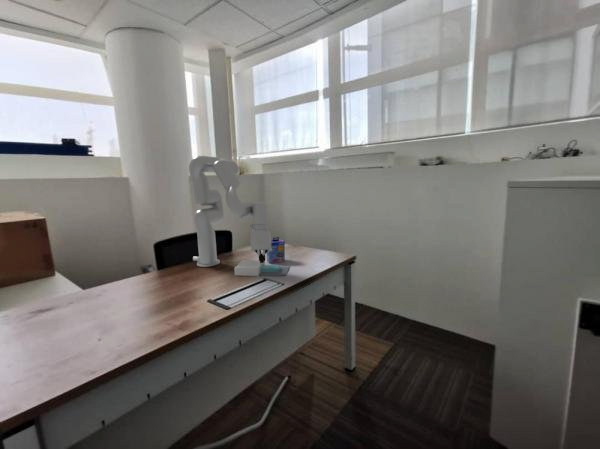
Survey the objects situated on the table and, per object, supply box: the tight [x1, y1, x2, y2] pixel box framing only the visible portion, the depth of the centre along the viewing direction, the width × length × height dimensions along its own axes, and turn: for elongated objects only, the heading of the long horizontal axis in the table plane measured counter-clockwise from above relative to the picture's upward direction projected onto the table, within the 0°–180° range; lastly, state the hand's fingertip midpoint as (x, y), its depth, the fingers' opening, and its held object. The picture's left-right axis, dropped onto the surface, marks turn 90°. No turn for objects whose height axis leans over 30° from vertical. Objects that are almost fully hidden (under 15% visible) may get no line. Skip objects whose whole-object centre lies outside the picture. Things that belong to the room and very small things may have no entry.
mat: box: [259, 266, 291, 277], centre depth 142 cm, size 13×14×1 cm
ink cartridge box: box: [266, 236, 286, 264], centre depth 159 cm, size 10×6×14 cm, turn 115°
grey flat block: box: [234, 259, 266, 277], centre depth 143 cm, size 12×14×4 cm
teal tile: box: [260, 264, 281, 273], centre depth 142 cm, size 9×6×2 cm, turn 83°
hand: (262, 262), depth 142 cm, fingers closed
